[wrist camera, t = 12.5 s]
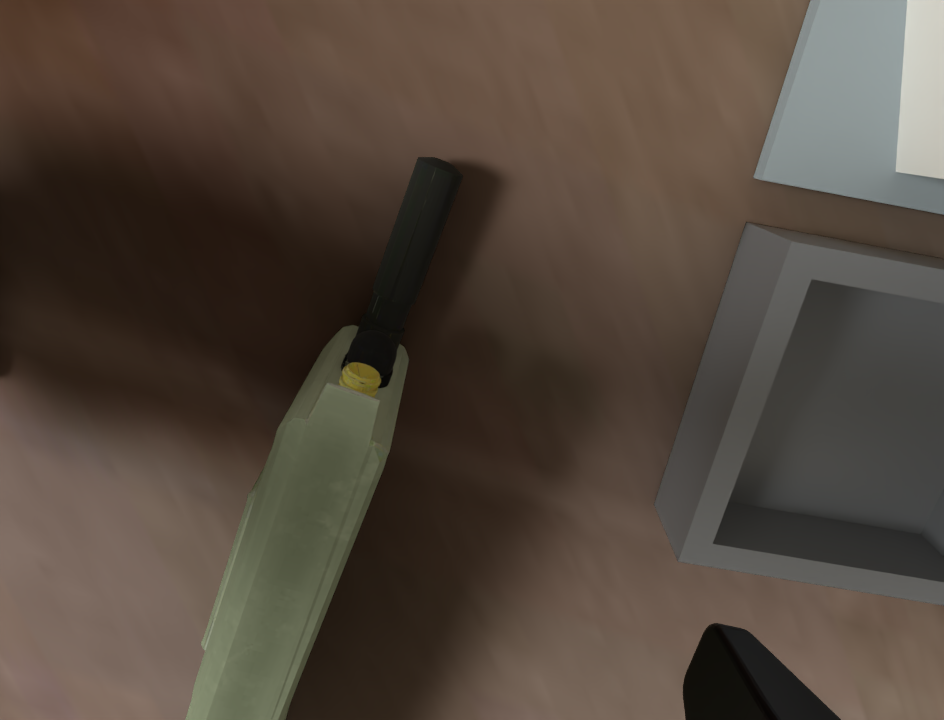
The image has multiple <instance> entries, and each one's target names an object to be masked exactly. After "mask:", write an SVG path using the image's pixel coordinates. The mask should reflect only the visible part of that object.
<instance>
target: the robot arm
mask: <svg viewBox="0 0 944 720" xmlns="http://www.w3.org/2000/svg"><path fill="white" fill-rule="evenodd" d="M683 700H684V709H685V718H686V720H841V719H840V718H839V717H838V716H837V715H836V714H835V713H834V712H832V711H831V710H830V709H829V708H828V707H827V706H826V705H825V704H824V703H823V702H822V701H821V700H820V699H819V698H818V697H817V696H816V695H815V694H814V693H813V692H812V691H811V690H810V689H808V688H807V687H806V686H805V685H804V684H803V683H802V682H801V681H800V680H799V679H798V678H797V677H796V676H795V675H794V674H793V673H792V672H791V671H790V670H789V669H788V668H787V667H786V666H784V665H783V664H782V663H781V662H780V661H779V660H778V659H777V658H776V657H775V656H774V655H773V654H772V653H771V652H770V651H769V650H768V649H767V648H766V647H765V646H764V645H763V644H761V643H760V642H759V641H758V640H757V639H756V638H755V637H754V636H753V635H752V634H751V633H750V632H748V631H747V630H745V629H742V628H737V627H732V626H728V625H723V624H718V623H714V624H711V625H709V626H708V627H707V628H706V630H705V631H704V633H703V635H702V637H701V640H700V642H699V644H698V647H697V649H696V651H695V653H694V656H693V658H692V660H691V663H690V665H689V667H688V669H687V672H686V675H685V678H684V684H683Z"/></svg>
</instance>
